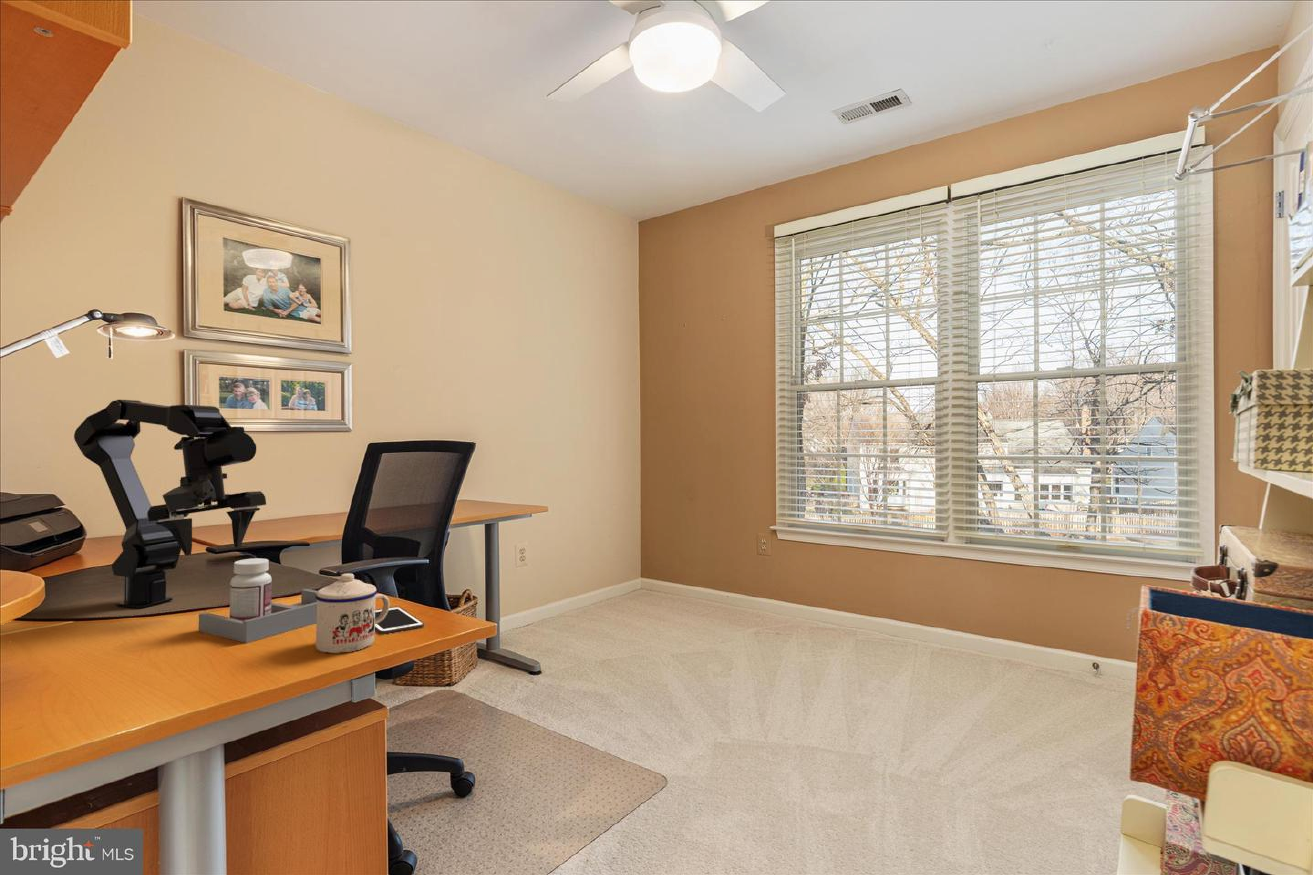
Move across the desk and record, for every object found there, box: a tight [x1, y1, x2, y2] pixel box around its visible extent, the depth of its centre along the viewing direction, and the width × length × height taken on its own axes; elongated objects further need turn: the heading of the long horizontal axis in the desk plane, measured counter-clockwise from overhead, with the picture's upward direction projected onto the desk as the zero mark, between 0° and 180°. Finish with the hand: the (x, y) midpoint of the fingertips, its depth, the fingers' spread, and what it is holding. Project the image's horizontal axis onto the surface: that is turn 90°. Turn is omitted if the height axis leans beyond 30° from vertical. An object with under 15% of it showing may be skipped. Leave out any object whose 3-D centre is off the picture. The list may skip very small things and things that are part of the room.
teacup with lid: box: [315, 573, 391, 654], centre depth 104 cm, size 12×9×12 cm
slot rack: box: [198, 588, 319, 644], centre depth 114 cm, size 13×20×4 cm, turn 156°
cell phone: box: [375, 606, 425, 635], centre depth 116 cm, size 8×15×1 cm, turn 40°
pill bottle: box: [229, 558, 273, 621], centre depth 110 cm, size 6×6×11 cm
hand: (213, 551), depth 118 cm, fingers open, 9 cm apart
